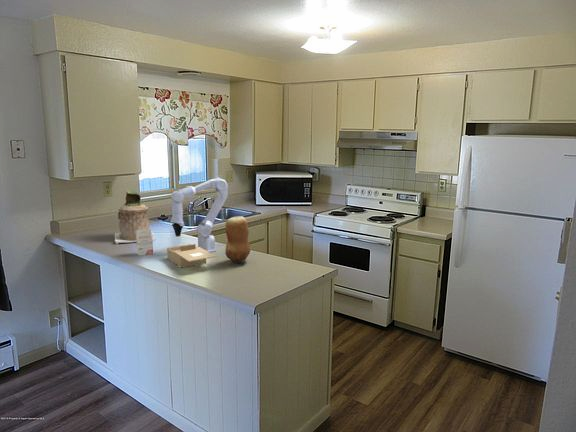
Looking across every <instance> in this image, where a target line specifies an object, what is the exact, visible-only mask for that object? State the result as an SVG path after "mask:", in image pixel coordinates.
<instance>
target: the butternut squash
mask: <svg viewBox="0 0 576 432" xmlns="http://www.w3.org/2000/svg"><path fill="white" fill-rule="evenodd" d="M248 226H249V225H248V221H247V218H246V217H244V216H243V215H241V216H239V215H238V216H232V217H230V218H227V220H226V221H225V234H226V238H227V242H226V245H225V256H226V258H227V259H228V260H229V261H232V262H233V263H235V264H237V263H238V262H241V263H243V262H245V261H246V259H247V258H248V257H249V255H250V253H251V246H250V242H249V227H248Z"/></svg>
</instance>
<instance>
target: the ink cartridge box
mask: <svg viewBox="0 0 576 432" xmlns="http://www.w3.org/2000/svg"><path fill="white" fill-rule="evenodd" d="M143 231H145V232H146V233H141V232H143ZM151 231H152V229H151V228H149V229H148V230H136V234H137V235H136V239H137V242H136V247H137V248H136V249H137V256H147V255H146V254H150V255H154V243H153V242H154V241H153V239H152V233H151Z"/></svg>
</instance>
